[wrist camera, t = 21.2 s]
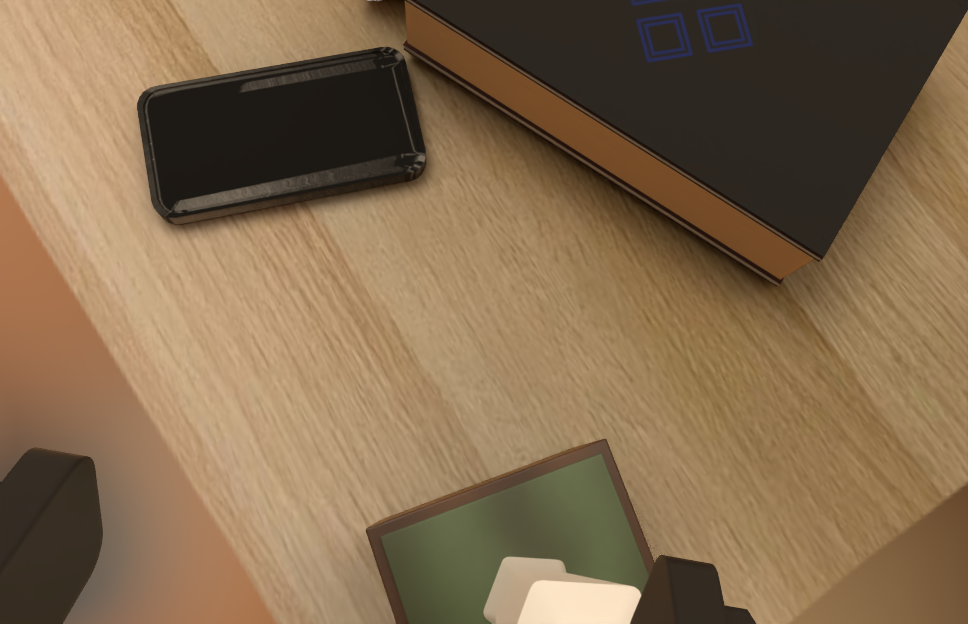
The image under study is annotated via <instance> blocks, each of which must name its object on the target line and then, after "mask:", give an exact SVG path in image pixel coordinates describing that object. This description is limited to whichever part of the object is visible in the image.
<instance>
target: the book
mask: <svg viewBox="0 0 968 624" xmlns="http://www.w3.org/2000/svg"><path fill="white" fill-rule="evenodd" d="M967 10H968V0H405V13H406V31H407V40H406V42H405V43H404V44H403V45H404V50H405V51H407V52H408V53H410V54H412V55H413V56H415V57H416V58H418V59H419V60H421V61H423V62H424V63H426V64H427V65H429V66H431V67H432V68H434V69H435V70H437V71H438V72H440V73H442V74H443V75H445V76H446V77H448V78H449V79H451V80H453V81H454V82H456V83H457V84H459V85H460V86H462V87H464V88H465V89H467V90H468V91H470V92H471V93H473V94H475V95H476V96H478V97H479V98H481V99H482V100H484V101H486V102H487V103H489V104H490V105H492V106H493V107H495V108H497V109H498V110H500V111H501V112H503V113H504V114H506V115H508V116H509V117H511V118H512V119H514V120H515V121H517V122H519V123H520V124H522V125H523V126H525V127H526V128H528V129H530V130H531V131H533V132H534V133H536V134H537V135H539V136H541V137H542V138H544V139H545V140H547V141H548V142H550V143H552V144H553V145H555V146H556V147H558V148H559V149H561V150H563V151H564V152H566V153H567V154H569V155H570V156H572V157H574V158H575V159H577V160H578V161H580V162H581V163H583V164H585V165H586V166H588V167H589V168H591V169H592V170H594V171H596V172H597V173H599V174H600V175H602V176H603V177H605V178H607V179H608V180H610V181H611V182H613V183H614V184H616V185H618V186H619V187H621V188H622V189H624V190H625V191H627V192H629V193H630V194H632V195H633V196H635V197H636V198H638V199H640V200H641V201H643V202H644V203H646V204H647V205H649V206H651V207H652V208H654V209H655V210H657V211H658V212H660V213H662V214H663V215H665V216H666V217H668V218H669V219H671V220H673V221H674V222H676V223H677V224H679V225H680V226H682V227H684V228H685V229H687V230H688V231H690V232H691V233H693V234H695V235H696V236H698V237H699V238H701V239H702V240H704V241H706V242H707V243H709V244H710V245H712V246H713V247H715V248H717V249H718V250H720V251H721V252H723V253H724V254H726V255H728V256H729V257H731V258H732V259H734V260H735V261H737V262H739V263H740V264H742V265H743V266H745V267H746V268H748V269H750V270H751V271H753V272H754V273H756V274H757V275H759V276H761V277H762V278H764V279H765V280H767V281H768V282H770V283H772V284H773V285H775V286H777V285H778V284H781V282H782V280H783V279H784V277H786V276H787V275H789V274H790V273H792V272H794V271H795V270H797V269H799V268H800V267H802V266H804V265H805V264H807V263H809V262H810V261H812V260H814V259H815V260H817V261H818V262H819V260H820V259H821V260H822V259H823V257H824V256H825V254H826V253H827V251H828V249H829V247H830V246H831V244H832V242H833V241H834V239H835V237H836V235H837V234H838V232H839V230H840V229H841V227H842V225H843V223H844V222H845V220H846V218H847V217H848V215H849V213H850V211H851V210H852V208H853V206H854V204H855V203H856V201H857V199H858V198H859V196H860V194H861V192H862V191H863V189H864V187H865V186H866V184H867V182H868V180H869V179H870V177H871V175H872V174H873V172H874V170H875V168H876V167H877V165H878V163H879V162H880V160H881V158H882V156H883V155H884V153H885V151H886V149H887V148H888V146H889V144H890V143H891V141H892V139H893V137H894V136H895V134H896V132H897V131H898V129H899V127H900V125H901V124H902V122H903V120H904V119H905V117H906V115H907V113H908V112H909V110H910V108H911V107H912V105H913V103H914V101H915V100H916V98H917V96H918V94H919V93H920V91H921V89H922V88H923V86H924V84H925V82H926V81H927V79H928V77H929V76H930V74H931V72H932V70H933V69H934V67H935V65H936V64H937V62H938V60H939V58H940V57H941V55H942V53H943V52H944V50H945V48H946V46H947V45H948V43H949V41H950V39H951V38H952V36H953V34H954V33H955V31H956V29H957V27H958V26H959V24H960V22H961V21H962V19H963V17H964V15H965V14H966V12H967Z"/></svg>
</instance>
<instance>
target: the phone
mask: <svg viewBox="0 0 968 624" xmlns="http://www.w3.org/2000/svg"><path fill="white" fill-rule="evenodd" d="M137 110H138V117H139V123H140V130H141V136H142V143H143V149H144V156H145V162H146V168H147V175H148V181H149V188H150V194H151V201H152V204H153V207H154V208H155V210H156V211H157V212H158V213H159V214H160V215H161V216H162V217H163V218H164V219H165V220H167V221H168V222H170V223H174V224H184V223H190V222H195V221H200V220H205V219H211V218H216V217H221V216H226V215H232V214H237V213H242V212H247V211H253V210H258V209H263V208H268V207H274V206H279V205H284V204H290V203H295V202H300V201H305V200H311V199H316V198H321V197H326V196H332V195H337V194H342V193H347V192H353V191H358V190H363V189H368V188H374V187H379V186H384V185H389V184H395V183H400V182H405V181H410V180H413V179H416V178H417V177H418V176H420V175H421V174H422V172H423V171H424V169H425V165H426V151H425V146H424V141H423V137H422V132H421V128H420V124H419V119H418V115H417V110H416V106H415V101H414V97H413V92H412V88H411V83H410V79H409V74H408V70H407V65H406V61H405V59H404V57H403V55H402V54H401V53H400V52H399V51H397V50H396V49H394V48H390V47H379V48H373V49H368V50H362V51H356V52H350V53H345V54H339V55H333V56H327V57H322V58H316V59H310V60H304V61H298V62H293V63H287V64H281V65H275V66H269V67H264V68H258V69H252V70H246V71H240V72H235V73H229V74H223V75H217V76H212V77H206V78H200V79H194V80H188V81H183V82H177V83H171V84H165V85H159V86H155V87H151V88H149V89H147V90H146V91H144V92H143V93H142V95H141V96H140V97H139V100H138V103H137Z"/></svg>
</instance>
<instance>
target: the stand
mask: <svg viewBox="0 0 968 624" xmlns="http://www.w3.org/2000/svg"><path fill="white" fill-rule="evenodd" d="M366 533H367V536H368V539H369V542H370V545H371V548H372V551H373V554H374V557H375V560H376V563H377V566H378V569H379V572H380V575H381V578H382V581H383V584H384V587H385V590H386V593H387V596H388V599H389V602H390V605H391V608H392V611H393V614H394V618H395V621H396V624H492V623H491V622H489V621H488V620H487V619H486V618H485V616H484V613H483V612H484V608H485V605H486V602H487V600H488V597H489V594H490V592H491V589H492V586H493V584H494V581H495V578H496V576H497V573H498V570H499V568H500V565H501V563H502V561H503V559H504V558H506V557H524V558H540V559H555V560H560V561H562V562H563V563H564V566H565V569H566V573H569V574H574V575H579V576H584V577H589V578H594V579H599V580H604V581H609V582H614V583H619V584H623V585H628V586H633V587H636V588H637V589H638V590H639V591H640V593H641V595H642V592H643V590H644V588H645V585H646V583H647V580H648V578H649V576H650V573H651V571H652V568H653V566H654V564H655V563H654V560H653V557H652V555H651V552H650V550H649V547H648V545H647V542H646V539H645V537H644V534H643V532H642V529H641V527H640V524H639V522H638V519H637V516H636V514H635V511H634V509H633V506H632V504H631V501H630V499H629V496H628V493H627V491H626V488H625V486H624V483H623V481H622V478H621V475H620V473H619V470H618V468H617V465H616V463H615V460H614V458H613V455H612V452H611V450H610V447H609V445H608V442H607V440H606V439H602V440H599V441H595V442H592V443H588V444H585V445H581V446H578V447H574V448H571V449H568V450H566V451H563V452H560V453H558V454H555V455H552V456H550V457H547V458H545V459H542V460H539V461H537V462H534V463H531V464H529V465H526V466H523V467H521V468H518V469H515V470H513V471H510V472H507V473H505V474H502V475H499V476H497V477H494V478H491V479H489V480H486V481H483V482H481V483H478V484H475V485H473V486H470V487H467V488H465V489H462V490H459V491H457V492H454V493H451V494H449V495H446V496H443V497H441V498H438V499H436V500H433V501H430V502H428V503H425V504H422V505H420V506H417V507H414V508H412V509H409V510H406V511H404V512H401V513H398V514H396V515H393V516H390V517H388V518H385V519H382V520H380V521H378V522H376V523H375V524H373V525H372V526H370V527H368V528H367V529H366Z"/></svg>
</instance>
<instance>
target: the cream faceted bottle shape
mask: <svg viewBox="0 0 968 624" xmlns="http://www.w3.org/2000/svg"><path fill="white" fill-rule="evenodd" d="M640 597H641V593H640V591H639V590H638V589H637V588H636V587H633V586H628V585H623V584H619V583H614V582H609V581H604V580H599V579H594V578H589V577H584V576H579V575H574V574H569V573H566V569H565V566H564V563H563V562H562V561H560V560H555V559H540V558H524V557H506V558H504V559H503V561H502V563H501V565H500V568H499V570H498V573H497V576H496V578H495V581H494V584H493V586H492V589H491V592H490V594H489V597H488V600H487V602H486V605H485V608H484V612H483V613H484V616H485V618H486V619H487V620H488V621H489V622H491V623H492V624H630V622H631V619H632V616H633V614H634V612H635V609H636V607H637V604H638V602H639V600H640Z"/></svg>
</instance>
